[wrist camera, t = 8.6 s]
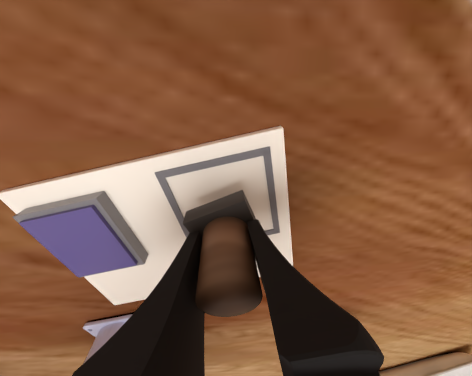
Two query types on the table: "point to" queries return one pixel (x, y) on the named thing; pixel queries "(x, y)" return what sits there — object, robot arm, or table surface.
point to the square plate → (435, 366)
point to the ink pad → (84, 234)
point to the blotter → (175, 199)
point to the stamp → (225, 256)
